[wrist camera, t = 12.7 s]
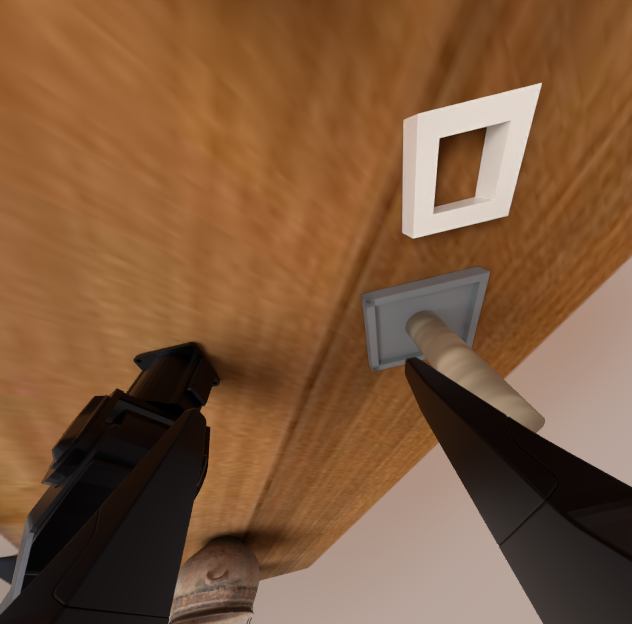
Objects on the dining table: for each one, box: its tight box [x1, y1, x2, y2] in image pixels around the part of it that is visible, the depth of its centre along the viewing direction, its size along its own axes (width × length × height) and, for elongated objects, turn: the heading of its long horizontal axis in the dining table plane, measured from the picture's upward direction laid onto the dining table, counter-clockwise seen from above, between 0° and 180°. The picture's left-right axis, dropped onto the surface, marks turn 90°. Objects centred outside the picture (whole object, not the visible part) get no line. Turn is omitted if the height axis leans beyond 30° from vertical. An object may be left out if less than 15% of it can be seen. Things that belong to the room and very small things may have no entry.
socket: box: [402, 83, 542, 239], centre depth 17 cm, size 8×8×2 cm
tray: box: [361, 266, 490, 371], centre depth 24 cm, size 12×10×2 cm
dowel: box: [405, 310, 545, 433], centre depth 19 cm, size 4×4×12 cm
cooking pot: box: [169, 537, 260, 624], centre depth 52 cm, size 25×19×12 cm
